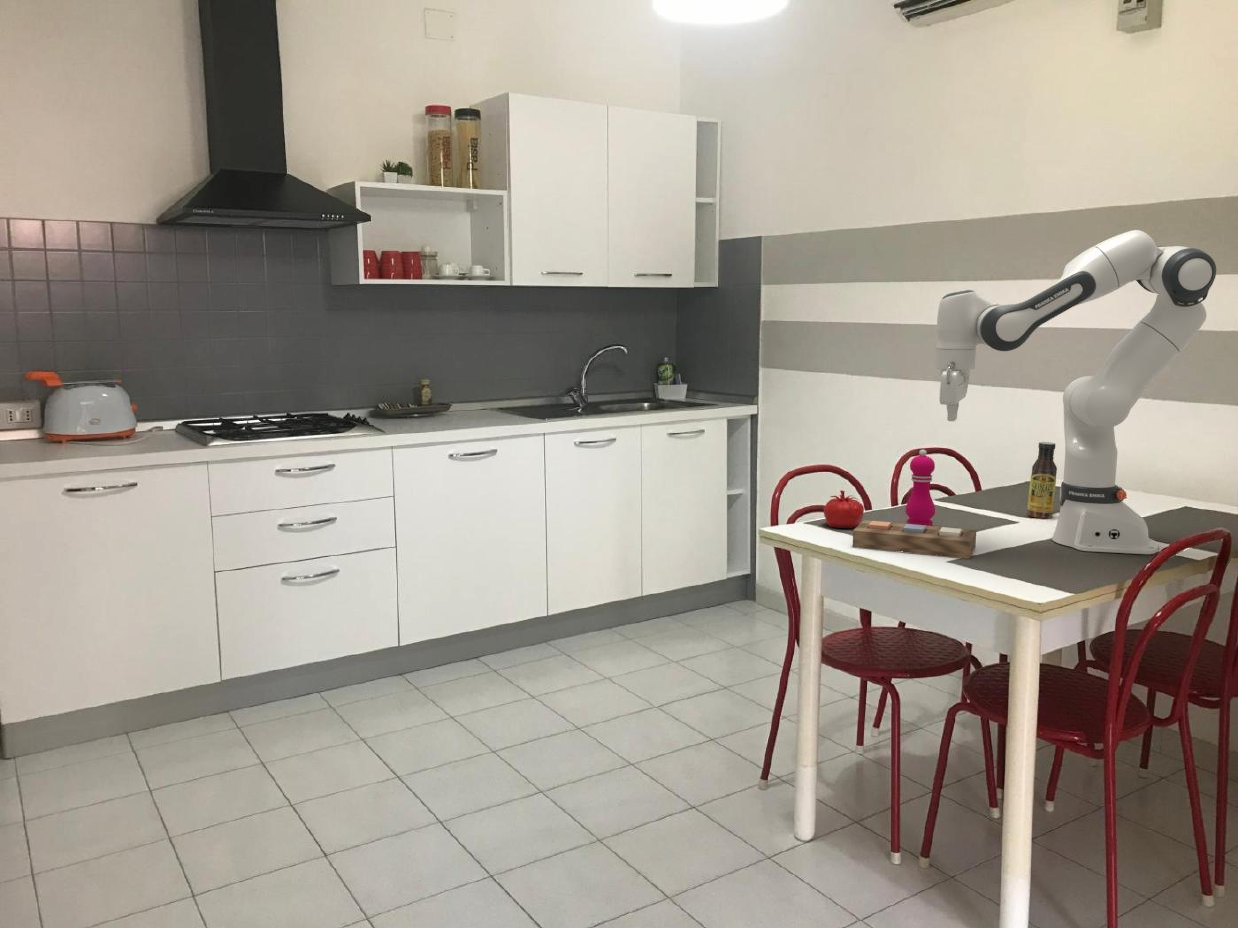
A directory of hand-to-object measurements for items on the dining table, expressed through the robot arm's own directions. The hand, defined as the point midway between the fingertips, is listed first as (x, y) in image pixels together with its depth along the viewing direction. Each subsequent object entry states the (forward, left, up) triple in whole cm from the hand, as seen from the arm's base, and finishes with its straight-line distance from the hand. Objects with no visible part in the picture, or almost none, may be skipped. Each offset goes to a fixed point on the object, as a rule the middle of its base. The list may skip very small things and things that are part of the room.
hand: (952, 420), depth 235 cm
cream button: (-2, +9, -28) cm, 29 cm away
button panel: (+6, +9, -29) cm, 31 cm away
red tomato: (+26, -6, -29) cm, 40 cm away
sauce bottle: (-19, -38, -29) cm, 52 cm away
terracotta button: (+14, +9, -28) cm, 32 cm away
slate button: (+6, +9, -28) cm, 30 cm away
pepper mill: (+8, -12, -29) cm, 33 cm away
